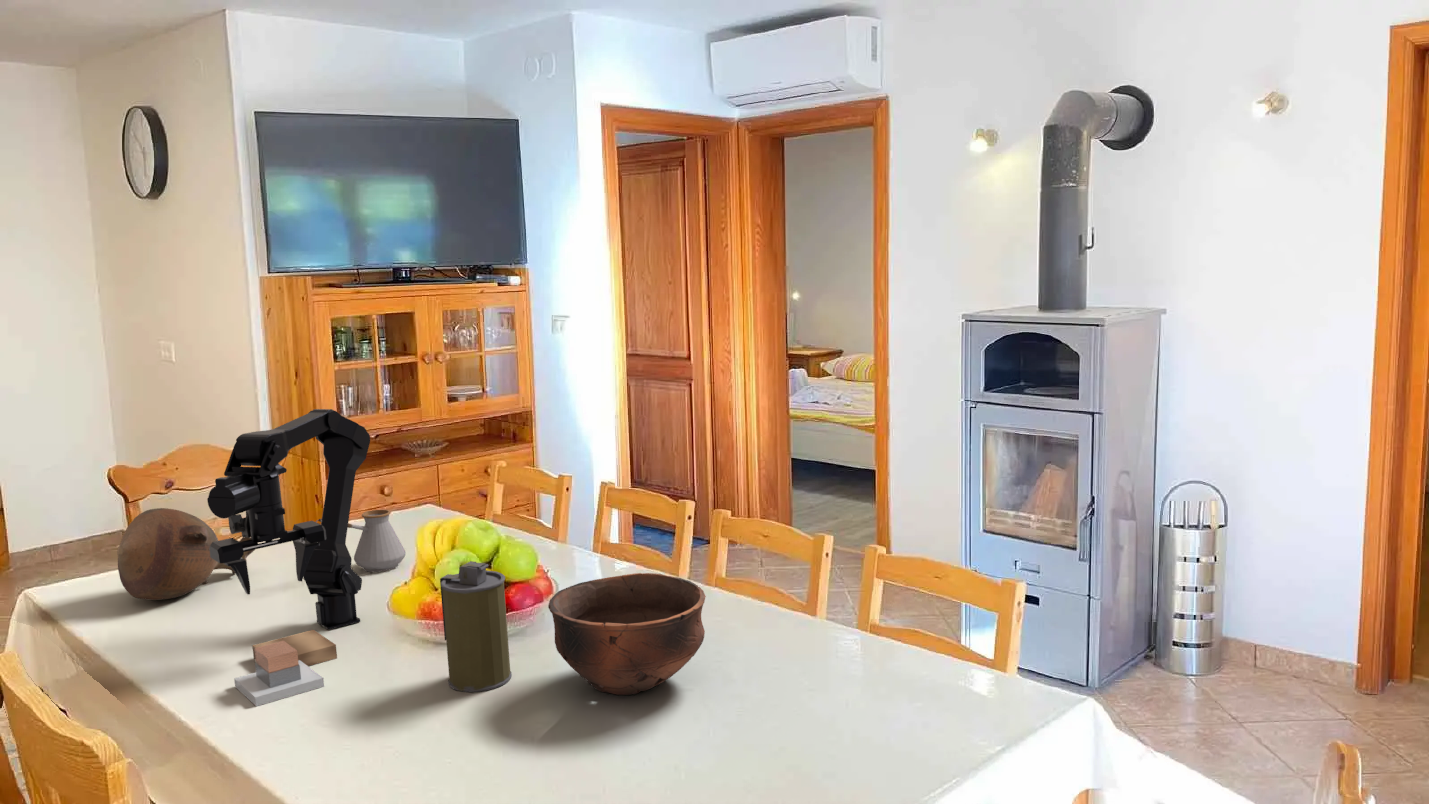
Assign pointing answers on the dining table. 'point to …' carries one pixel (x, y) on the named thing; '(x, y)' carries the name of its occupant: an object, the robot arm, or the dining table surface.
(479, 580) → the canister
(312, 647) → the walnut plinth
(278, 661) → the housing
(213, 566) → the jug
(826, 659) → the dining table surface
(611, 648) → the bowl
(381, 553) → the coffee pot
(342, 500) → the robot arm
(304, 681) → the ceramic tile
